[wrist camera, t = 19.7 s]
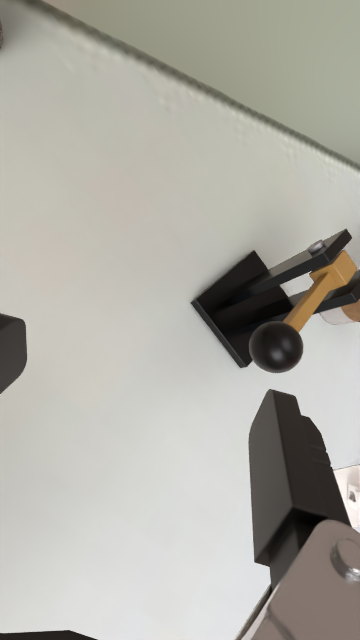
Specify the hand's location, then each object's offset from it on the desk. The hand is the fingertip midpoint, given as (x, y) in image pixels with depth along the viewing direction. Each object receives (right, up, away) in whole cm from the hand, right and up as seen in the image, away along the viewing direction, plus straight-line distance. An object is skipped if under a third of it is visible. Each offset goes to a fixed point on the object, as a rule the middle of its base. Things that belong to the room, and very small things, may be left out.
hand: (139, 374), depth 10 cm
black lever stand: (+10, +3, +28) cm, 30 cm away
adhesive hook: (+25, -22, +30) cm, 44 cm away
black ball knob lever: (+10, +2, +15) cm, 19 cm away
